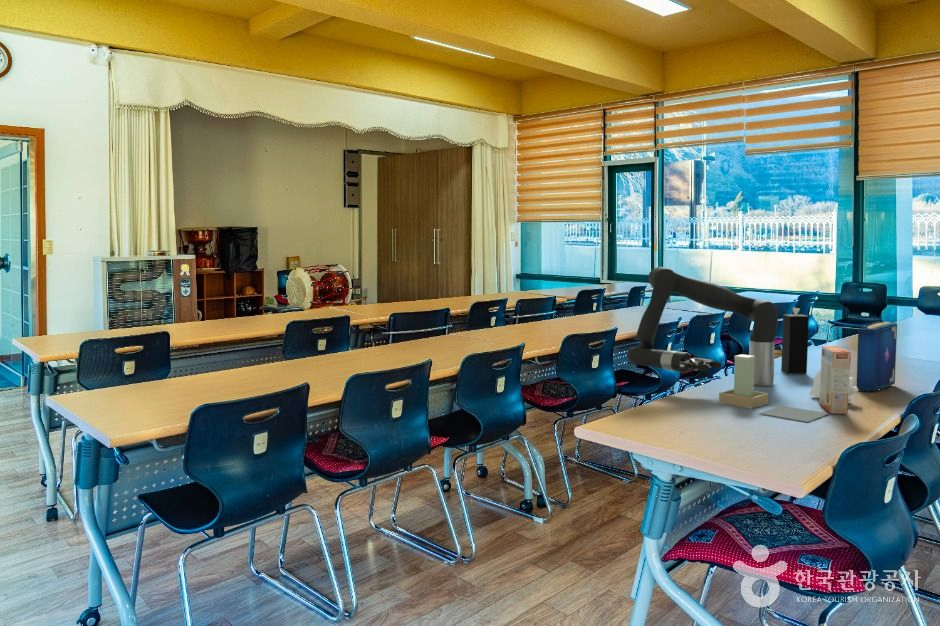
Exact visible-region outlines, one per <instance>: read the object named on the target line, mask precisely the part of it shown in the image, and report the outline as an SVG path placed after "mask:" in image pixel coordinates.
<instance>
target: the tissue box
mask: <svg viewBox="0 0 940 626" xmlns="http://www.w3.org/2000/svg"><path fill="white" fill-rule="evenodd" d="M800 310H801V308H798V307H792V312H793V314H792V313H791V314H782V338H781V339H782V341H781V366H780V367H781V372H782V371H783V372H782V373H784V372H785V373H784V374H787V375H807V374H808V348H809V345H808V344H809V322H810V316H809V315H805V314H801V313H800V314H798V313H799V312H800Z"/></svg>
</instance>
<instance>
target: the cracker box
mask: <svg viewBox="0 0 940 626" xmlns="http://www.w3.org/2000/svg"><path fill="white" fill-rule="evenodd" d="M851 355H852V352H850V351H848V350H847V349H844V348H842V347H840V346H838V345H822V346H821V359H820V360H821V361H820V371H821V379H820V398H818V401H819V402H818V403H819V406H820V405H821V406H820V407H821V408H823V409H824V410H825V411H826V410H827V413H829V414H830V413H832V414H833V415H848V413H849V403H848V398H849V397H850V396H849V379H850V377H851V376H850V375H851V373H850V372H851V361H852V360H851V359H852V357H851Z"/></svg>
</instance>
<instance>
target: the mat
mask: <svg viewBox="0 0 940 626" xmlns="http://www.w3.org/2000/svg"><path fill="white" fill-rule="evenodd" d="M758 413H759V415H760V414H761V415H762V416H766V415H767V417H771V416H773V417H772V418H777V417H778V419H784V420H788V419H789V420H790V421H795V422H800V423H805V424H808V423H811V421H812V422H814V421H816V419H817V420H819V419H822V418H824V417H823V416H825V415H827V416H829V415H830V413H829V412H823V411H817V410H811V409H804V408H799V407H793V406H786V405H780V406H777V407H776V406H775V407H774V408H771V409H768V410H765V411H761V412H758ZM828 414H829V415H828ZM821 417H822V418H821ZM825 417H826V416H825ZM818 418H819V419H818Z"/></svg>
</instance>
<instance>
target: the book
mask: <svg viewBox="0 0 940 626" xmlns="http://www.w3.org/2000/svg"><path fill="white" fill-rule="evenodd" d="M897 333H898V323H897V322H890V321H886V322H884V321H883V322H882V321H880V320H879V321H873V322H870V323H867V324H865V325H864V326H861V327H859V328H858V329H857V359H856V363H857V364H856V368H857V369H856V387H857V388H858V391H861V390H862V392H869V391H872V392H874V391H879V390H878V389H882V390H884V389H887V388H890V386H892V385H895V384H896V366H897V365H896V364H897V362H896V361H897V337H898V334H897ZM886 387H887V388H886ZM883 388H884V389H883Z"/></svg>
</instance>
